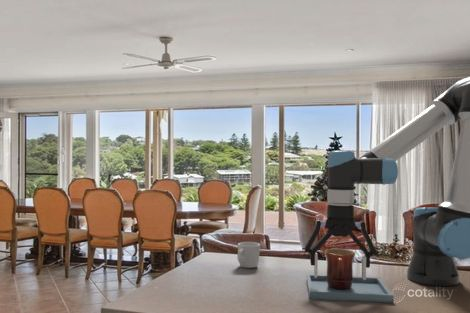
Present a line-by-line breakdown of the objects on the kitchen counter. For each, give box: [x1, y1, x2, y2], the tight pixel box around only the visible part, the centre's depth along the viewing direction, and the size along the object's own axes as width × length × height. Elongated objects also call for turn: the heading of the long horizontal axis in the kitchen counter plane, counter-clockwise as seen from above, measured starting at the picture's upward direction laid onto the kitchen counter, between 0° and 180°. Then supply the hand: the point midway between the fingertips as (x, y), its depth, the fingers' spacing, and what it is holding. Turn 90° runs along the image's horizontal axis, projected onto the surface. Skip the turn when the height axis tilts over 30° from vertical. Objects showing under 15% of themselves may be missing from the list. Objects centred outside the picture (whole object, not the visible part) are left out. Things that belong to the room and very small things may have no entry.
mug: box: [324, 248, 356, 290], centre depth 128 cm, size 12×9×10 cm
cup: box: [236, 241, 261, 269], centre depth 154 cm, size 11×8×8 cm
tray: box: [306, 274, 395, 304], centre depth 127 cm, size 22×18×2 cm
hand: (339, 277), depth 128 cm, fingers open, 13 cm apart
